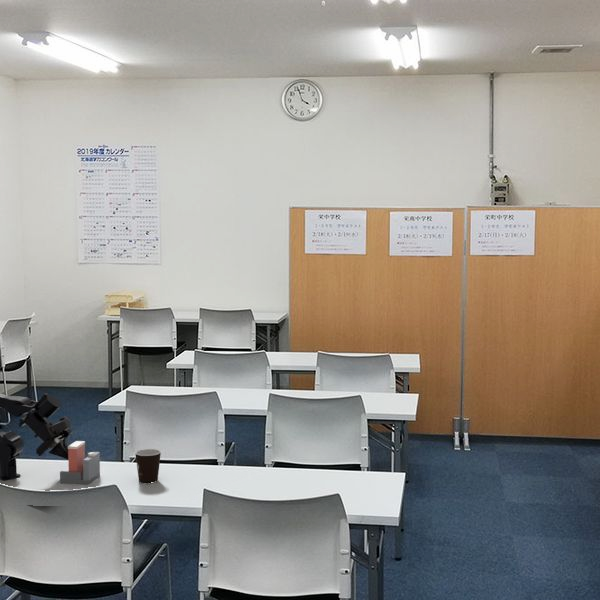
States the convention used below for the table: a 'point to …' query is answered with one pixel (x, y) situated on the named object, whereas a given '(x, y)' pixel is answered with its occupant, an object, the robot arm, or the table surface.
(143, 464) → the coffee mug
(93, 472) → the grey stepped block
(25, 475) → the table surface
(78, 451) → the red rectangular block
